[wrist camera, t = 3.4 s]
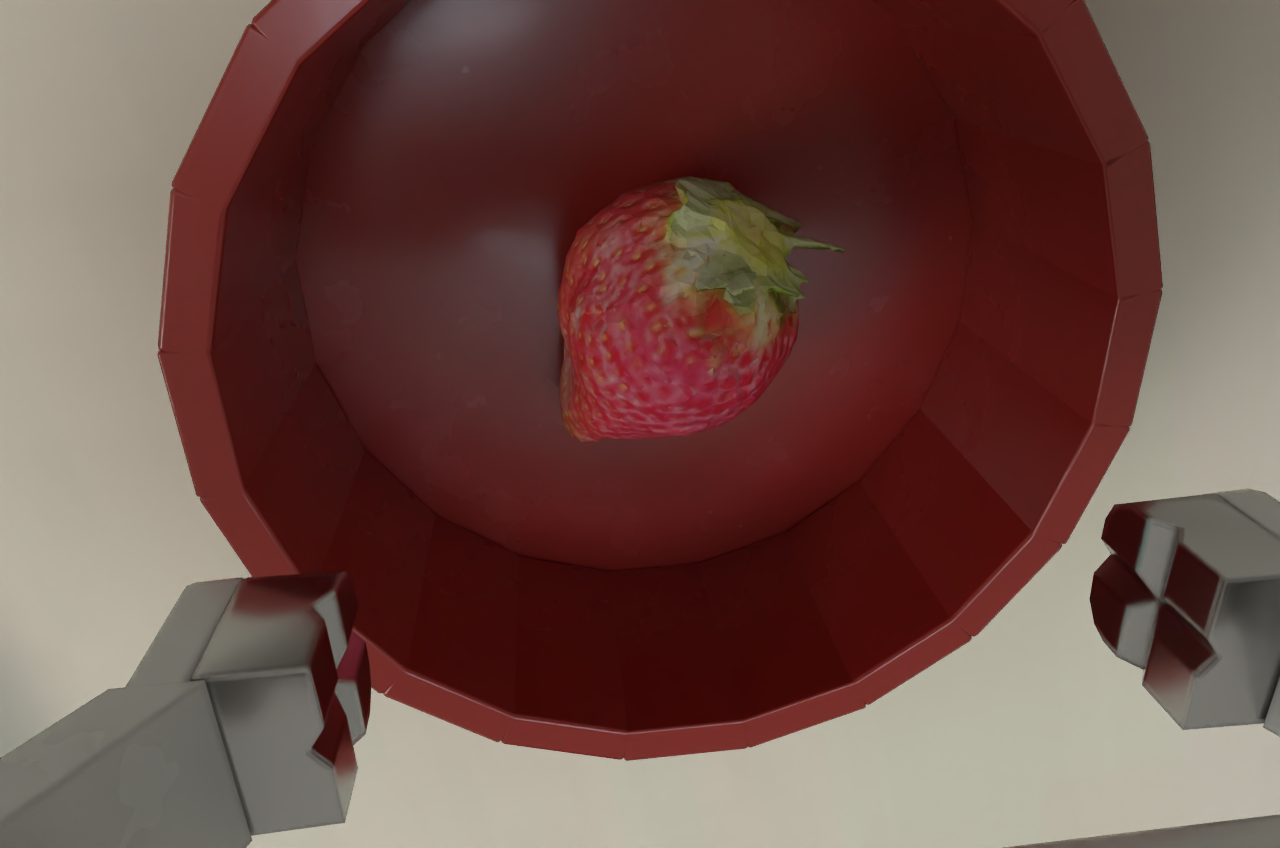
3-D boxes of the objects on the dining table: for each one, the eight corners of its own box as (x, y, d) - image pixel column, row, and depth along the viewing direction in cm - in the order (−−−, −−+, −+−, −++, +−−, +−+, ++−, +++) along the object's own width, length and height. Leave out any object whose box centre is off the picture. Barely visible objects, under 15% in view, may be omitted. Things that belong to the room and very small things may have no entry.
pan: (181, -127, 14) (6, -183, 10) (1048, -144, 16) (1278, -202, 11) (337, 608, 21) (279, 798, 16) (948, 555, 22) (1065, 716, 17)
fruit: (469, 350, 18) (449, 470, 14) (653, 92, 16) (700, 134, 12) (639, 456, 19) (671, 597, 15) (825, 231, 18) (924, 313, 13)
